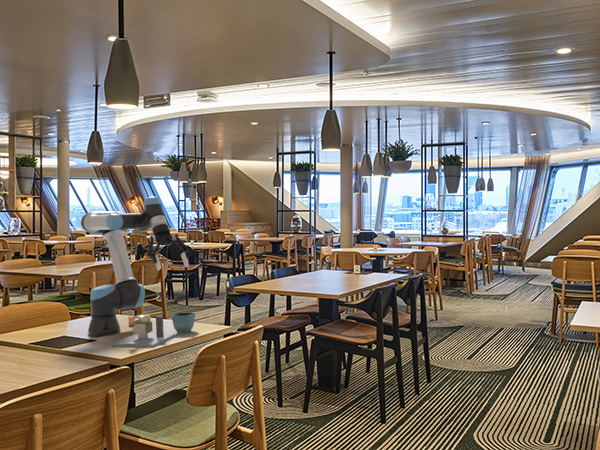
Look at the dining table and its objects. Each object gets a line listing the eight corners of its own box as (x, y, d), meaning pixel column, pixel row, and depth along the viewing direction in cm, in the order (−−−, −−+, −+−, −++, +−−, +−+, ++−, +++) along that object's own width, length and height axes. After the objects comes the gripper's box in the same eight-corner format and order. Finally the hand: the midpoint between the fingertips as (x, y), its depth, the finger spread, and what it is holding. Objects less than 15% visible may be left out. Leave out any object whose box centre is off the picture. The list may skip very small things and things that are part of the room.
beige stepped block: (139, 330, 260) (139, 311, 260) (153, 330, 259) (153, 311, 258) (123, 337, 246) (122, 317, 246) (137, 337, 245) (137, 317, 244)
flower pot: (189, 334, 268) (188, 315, 268) (171, 334, 269) (171, 315, 269) (196, 330, 276) (195, 312, 276) (179, 330, 278) (178, 312, 278)
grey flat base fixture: (112, 346, 247) (111, 321, 247) (137, 335, 269) (136, 312, 269) (153, 347, 243) (152, 322, 242) (176, 336, 264) (175, 313, 264)
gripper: (137, 224, 248) (150, 266, 241) (187, 221, 265) (201, 260, 257) (131, 233, 253) (144, 274, 246) (180, 229, 270) (194, 268, 262)
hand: (173, 267), depth 251 cm, fingers open, 13 cm apart
